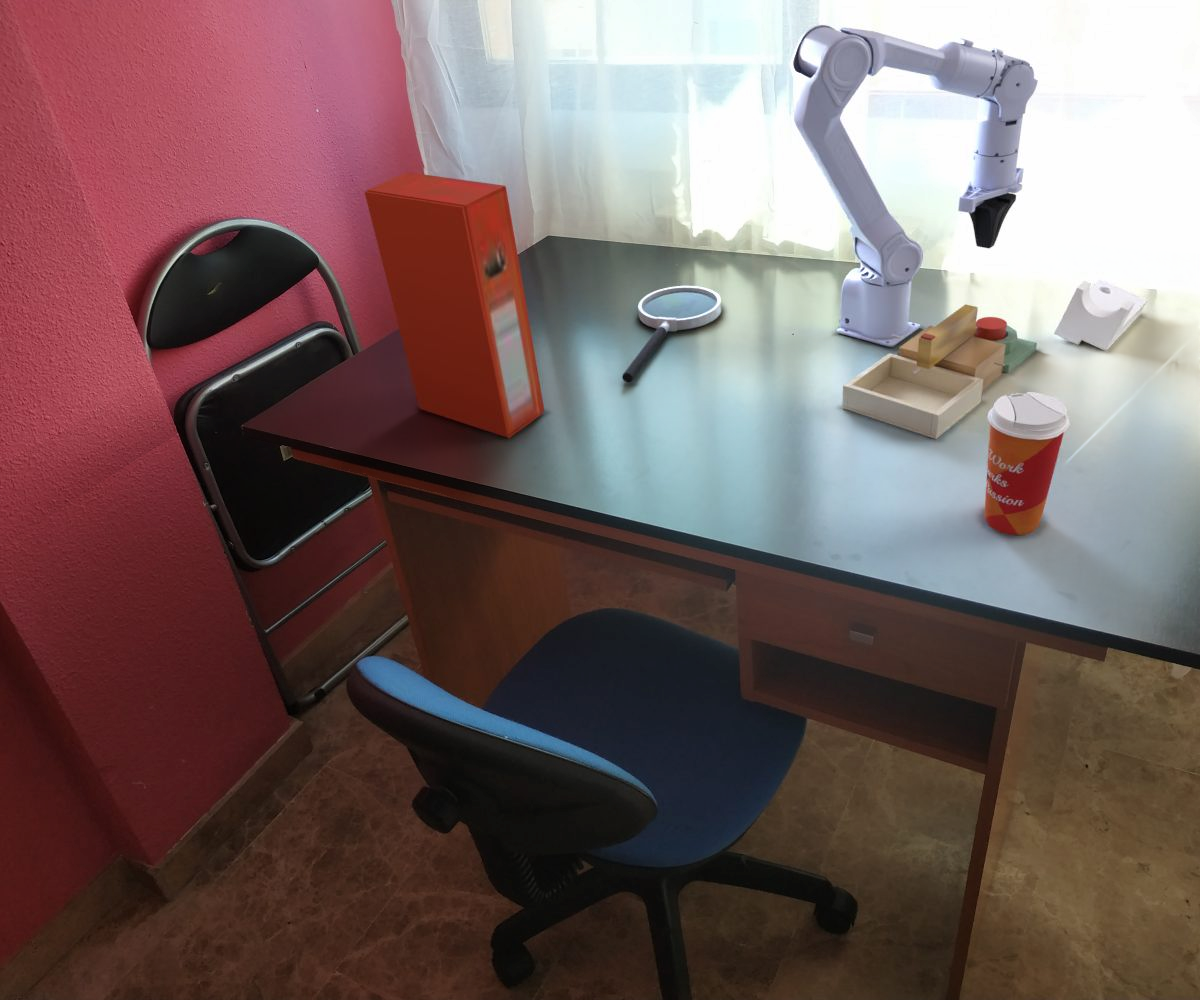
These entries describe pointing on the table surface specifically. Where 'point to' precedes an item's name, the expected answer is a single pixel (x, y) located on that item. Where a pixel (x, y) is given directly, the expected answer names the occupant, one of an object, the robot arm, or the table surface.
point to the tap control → (1015, 349)
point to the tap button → (991, 328)
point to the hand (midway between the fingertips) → (985, 245)
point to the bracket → (1099, 314)
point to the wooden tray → (912, 395)
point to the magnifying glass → (673, 316)
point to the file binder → (458, 298)
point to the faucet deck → (965, 357)
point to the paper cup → (1022, 459)
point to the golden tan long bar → (946, 336)
